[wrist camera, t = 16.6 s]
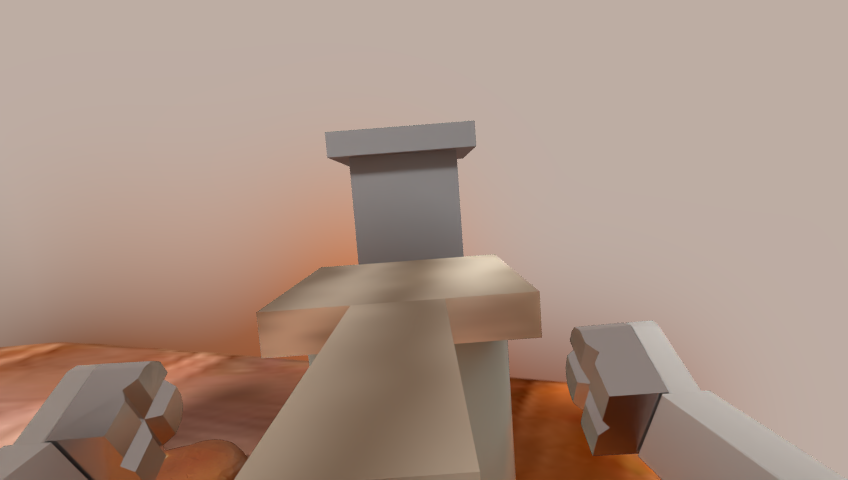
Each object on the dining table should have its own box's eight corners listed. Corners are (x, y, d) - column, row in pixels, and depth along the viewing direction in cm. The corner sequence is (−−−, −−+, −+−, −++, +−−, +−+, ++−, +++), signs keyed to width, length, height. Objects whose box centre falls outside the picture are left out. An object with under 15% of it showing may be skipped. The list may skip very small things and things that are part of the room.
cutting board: (-2, 622, 7) (-24, 508, 7) (323, 296, 31) (320, 267, 31) (735, 570, 7) (735, 453, 7) (496, 283, 31) (494, 254, 31)
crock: (317, 716, 22) (277, 352, 20) (352, 541, 33) (328, 296, 31) (546, 700, 22) (526, 333, 20) (505, 530, 32) (489, 284, 31)
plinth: (358, 484, 39) (324, 132, 36) (373, 416, 51) (349, 148, 48) (497, 474, 39) (474, 120, 36) (479, 408, 51) (461, 139, 48)
